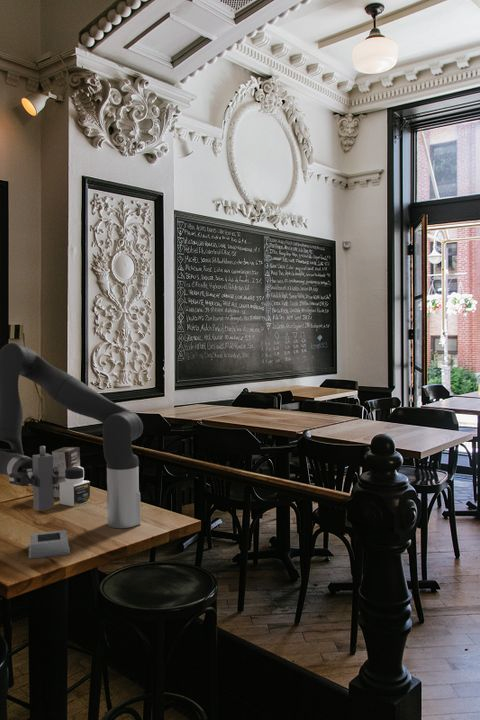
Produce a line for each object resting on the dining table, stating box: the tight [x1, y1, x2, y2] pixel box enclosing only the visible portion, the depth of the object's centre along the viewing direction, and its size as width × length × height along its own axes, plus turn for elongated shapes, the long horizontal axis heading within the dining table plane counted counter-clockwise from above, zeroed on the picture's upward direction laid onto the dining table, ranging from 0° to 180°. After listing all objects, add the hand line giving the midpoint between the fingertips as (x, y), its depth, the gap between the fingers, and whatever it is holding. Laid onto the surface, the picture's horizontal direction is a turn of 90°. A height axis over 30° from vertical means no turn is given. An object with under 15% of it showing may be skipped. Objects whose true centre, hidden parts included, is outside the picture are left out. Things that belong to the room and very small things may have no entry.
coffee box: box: [51, 446, 81, 498], centre depth 210 cm, size 9×6×16 cm
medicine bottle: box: [59, 466, 91, 507], centre depth 199 cm, size 7×7×12 cm
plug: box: [32, 445, 55, 512], centre depth 158 cm, size 4×4×16 cm
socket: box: [28, 529, 71, 560], centre depth 156 cm, size 10×10×3 cm
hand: (47, 481), depth 155 cm, fingers closed on plug, 4 cm apart
